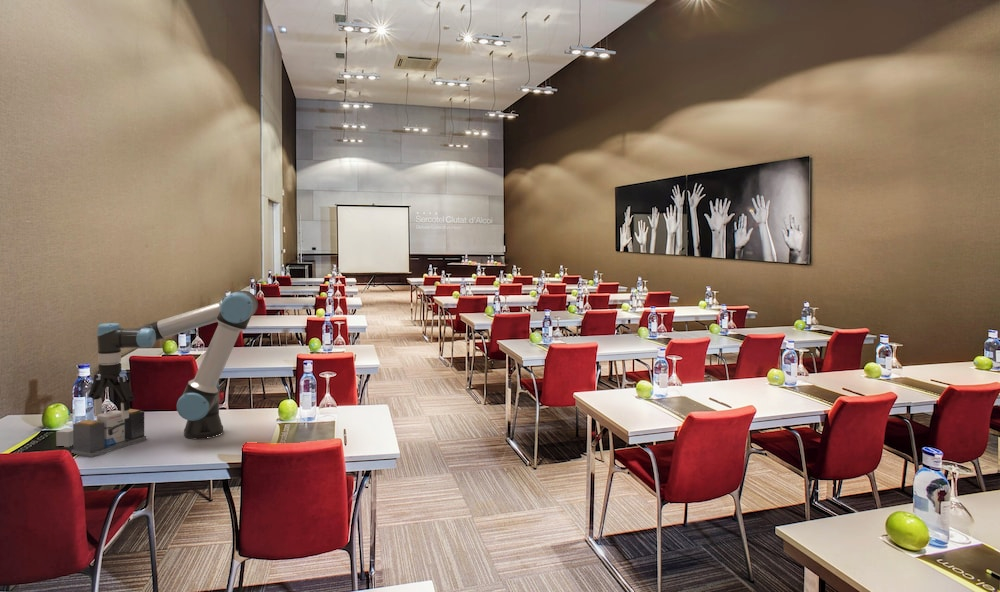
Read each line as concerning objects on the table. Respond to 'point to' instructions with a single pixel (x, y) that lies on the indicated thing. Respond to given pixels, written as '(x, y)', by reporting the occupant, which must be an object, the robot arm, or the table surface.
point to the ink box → (112, 427)
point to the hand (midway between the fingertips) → (111, 417)
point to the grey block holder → (92, 435)
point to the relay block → (64, 437)
